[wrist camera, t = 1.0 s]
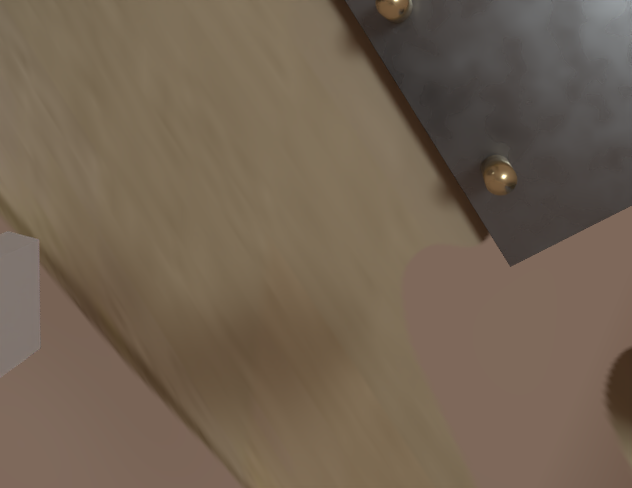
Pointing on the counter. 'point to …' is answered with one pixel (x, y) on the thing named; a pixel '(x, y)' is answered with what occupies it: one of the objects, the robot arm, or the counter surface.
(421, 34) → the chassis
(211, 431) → the counter surface
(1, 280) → the robot arm
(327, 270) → the counter surface
